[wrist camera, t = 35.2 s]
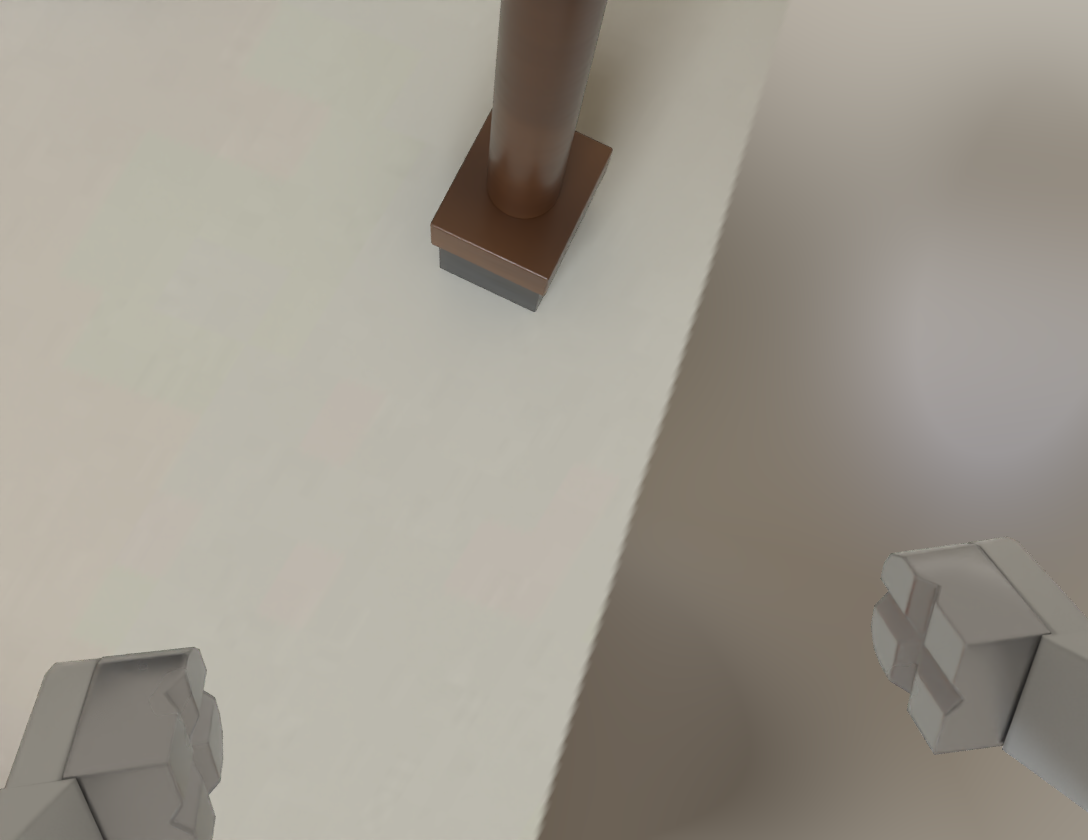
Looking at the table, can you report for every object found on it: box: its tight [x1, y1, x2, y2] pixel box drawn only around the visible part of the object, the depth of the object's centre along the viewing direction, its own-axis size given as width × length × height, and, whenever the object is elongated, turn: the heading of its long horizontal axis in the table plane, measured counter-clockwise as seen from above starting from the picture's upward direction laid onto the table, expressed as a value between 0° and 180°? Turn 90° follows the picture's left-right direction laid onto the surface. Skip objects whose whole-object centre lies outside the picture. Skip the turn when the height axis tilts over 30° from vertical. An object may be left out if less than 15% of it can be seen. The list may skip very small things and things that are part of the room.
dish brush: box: [430, 0, 613, 312], centre depth 28 cm, size 5×4×16 cm
